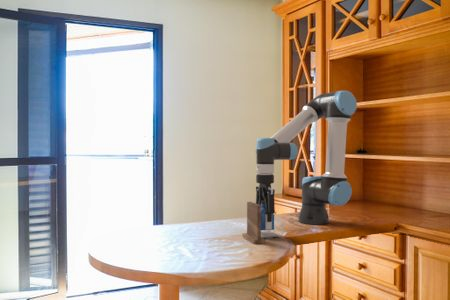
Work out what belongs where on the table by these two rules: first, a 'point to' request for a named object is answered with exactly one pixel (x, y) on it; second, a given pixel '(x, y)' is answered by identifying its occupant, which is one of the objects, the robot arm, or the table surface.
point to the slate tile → (268, 234)
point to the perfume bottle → (263, 211)
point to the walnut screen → (253, 224)
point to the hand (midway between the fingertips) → (264, 227)
